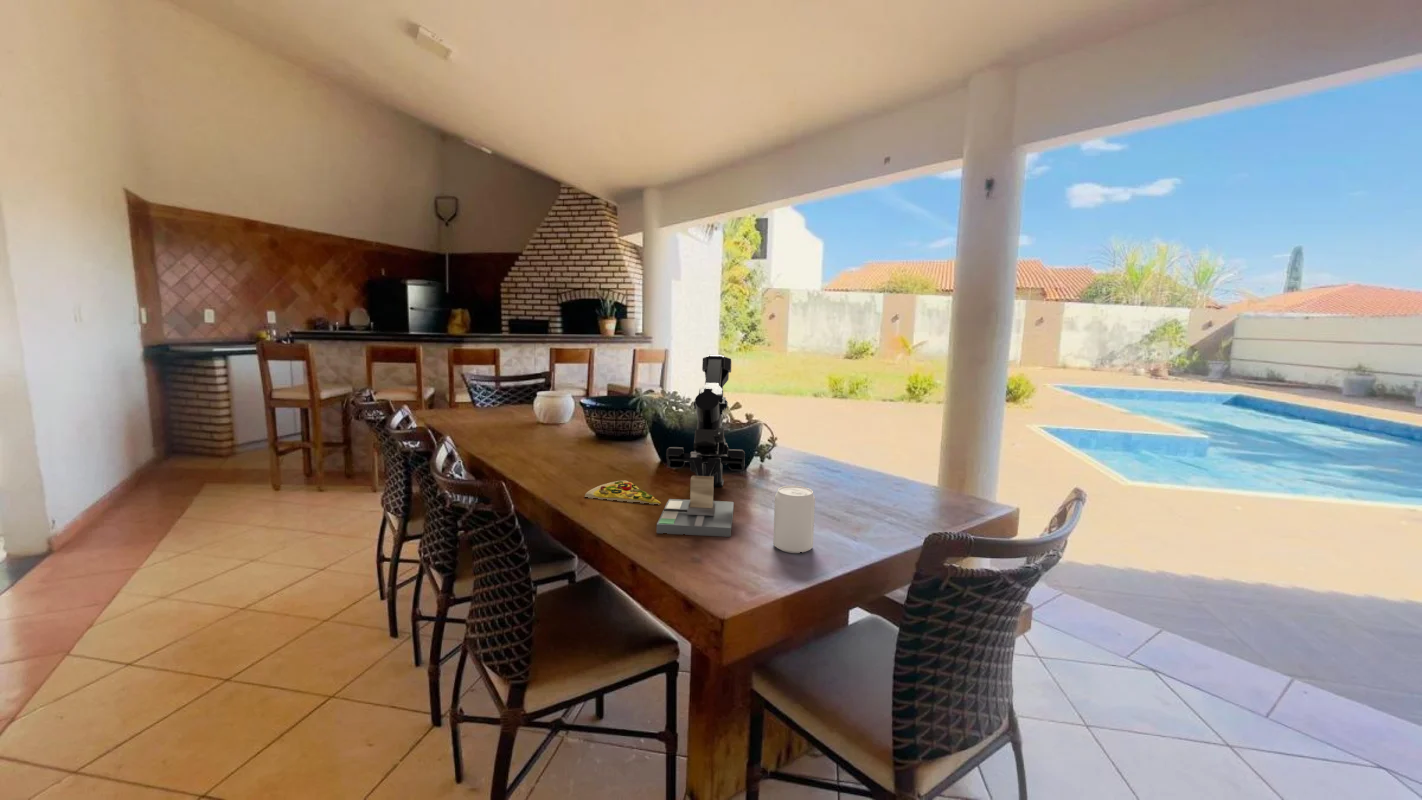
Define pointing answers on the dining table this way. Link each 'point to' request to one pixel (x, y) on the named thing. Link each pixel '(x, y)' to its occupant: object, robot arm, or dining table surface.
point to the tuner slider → (700, 497)
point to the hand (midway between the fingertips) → (703, 489)
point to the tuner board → (696, 520)
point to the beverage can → (794, 519)
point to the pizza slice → (621, 493)
